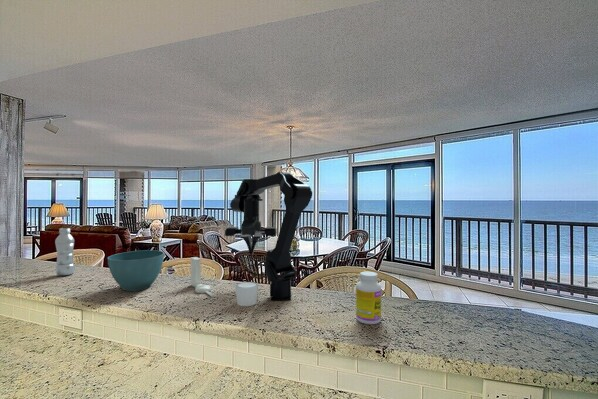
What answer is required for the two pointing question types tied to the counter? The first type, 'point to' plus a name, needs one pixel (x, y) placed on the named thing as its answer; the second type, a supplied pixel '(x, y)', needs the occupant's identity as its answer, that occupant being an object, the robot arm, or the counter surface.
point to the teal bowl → (136, 268)
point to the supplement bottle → (368, 299)
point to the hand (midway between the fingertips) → (251, 254)
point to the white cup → (247, 293)
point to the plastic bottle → (64, 252)
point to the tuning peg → (198, 277)
